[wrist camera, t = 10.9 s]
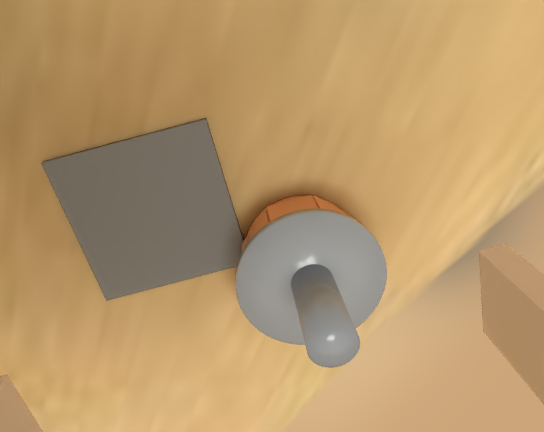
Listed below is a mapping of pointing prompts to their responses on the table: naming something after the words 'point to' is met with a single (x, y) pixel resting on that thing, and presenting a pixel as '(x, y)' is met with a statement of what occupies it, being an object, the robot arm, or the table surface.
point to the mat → (149, 208)
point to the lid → (312, 282)
